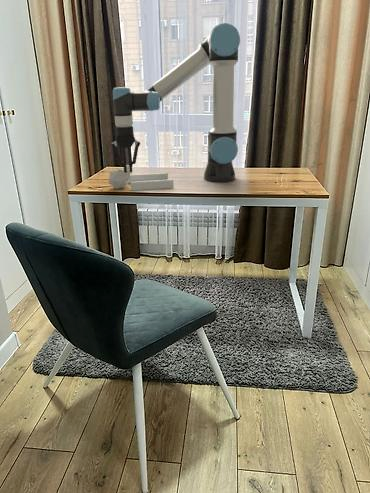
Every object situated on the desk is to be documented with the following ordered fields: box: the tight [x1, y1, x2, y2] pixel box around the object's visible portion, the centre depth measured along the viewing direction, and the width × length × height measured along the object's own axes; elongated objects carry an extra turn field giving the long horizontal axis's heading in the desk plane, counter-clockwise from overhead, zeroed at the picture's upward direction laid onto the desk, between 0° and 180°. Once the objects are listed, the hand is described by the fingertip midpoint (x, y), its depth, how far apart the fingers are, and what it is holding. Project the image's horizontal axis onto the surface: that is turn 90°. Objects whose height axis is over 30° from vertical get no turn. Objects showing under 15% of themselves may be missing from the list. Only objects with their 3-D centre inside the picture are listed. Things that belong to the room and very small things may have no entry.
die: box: [108, 168, 128, 190], centre depth 178 cm, size 8×9×10 cm
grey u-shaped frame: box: [127, 172, 175, 191], centre depth 184 cm, size 19×15×4 cm
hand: (128, 179), depth 181 cm, fingers closed
